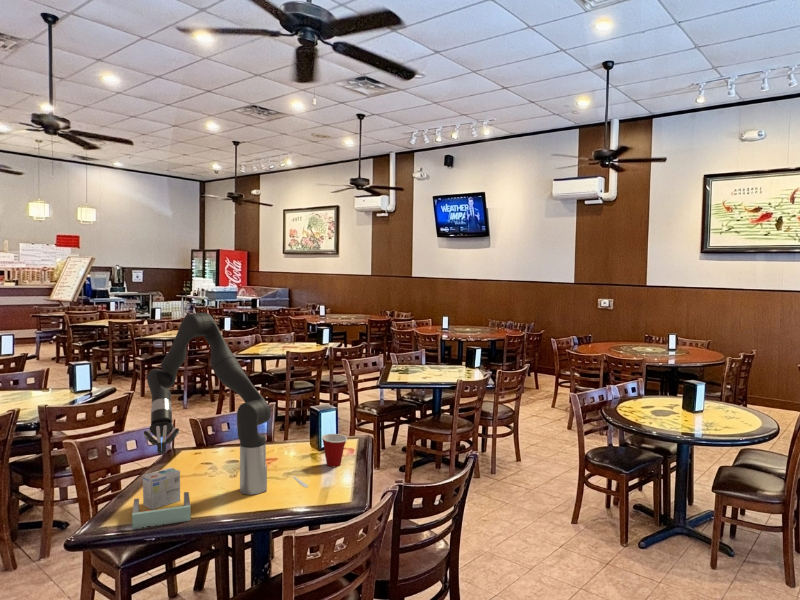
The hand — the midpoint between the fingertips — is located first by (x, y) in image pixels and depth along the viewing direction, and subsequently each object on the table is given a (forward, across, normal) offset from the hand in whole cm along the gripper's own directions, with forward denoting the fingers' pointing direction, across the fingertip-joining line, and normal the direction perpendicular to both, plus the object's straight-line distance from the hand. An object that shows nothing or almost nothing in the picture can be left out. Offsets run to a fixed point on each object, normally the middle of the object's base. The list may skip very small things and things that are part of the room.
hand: (161, 453), depth 207 cm
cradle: (+28, 0, -9) cm, 29 cm away
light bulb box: (+20, 0, -1) cm, 20 cm away
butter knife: (+14, +48, +5) cm, 50 cm away
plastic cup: (+8, +67, +10) cm, 68 cm away
